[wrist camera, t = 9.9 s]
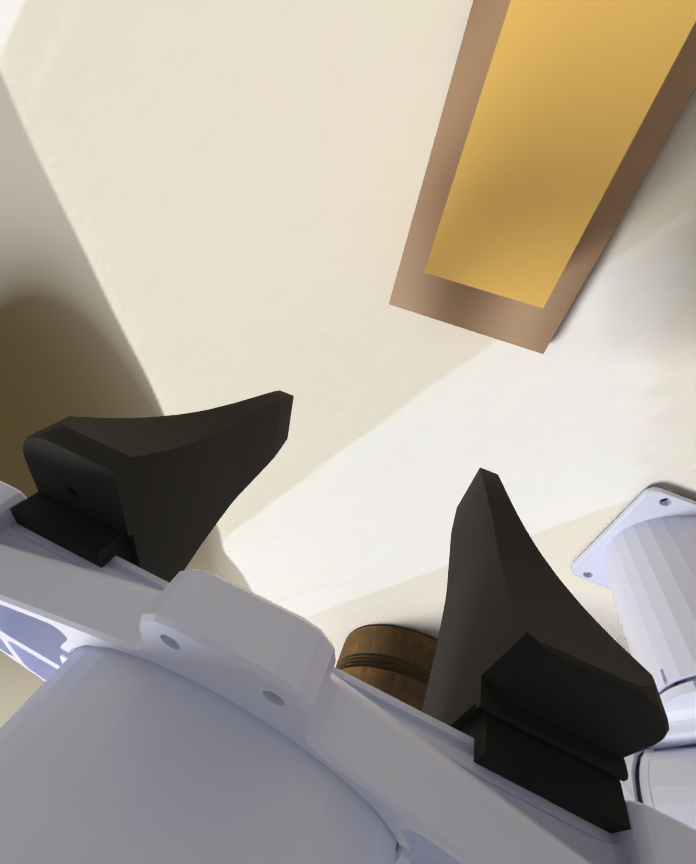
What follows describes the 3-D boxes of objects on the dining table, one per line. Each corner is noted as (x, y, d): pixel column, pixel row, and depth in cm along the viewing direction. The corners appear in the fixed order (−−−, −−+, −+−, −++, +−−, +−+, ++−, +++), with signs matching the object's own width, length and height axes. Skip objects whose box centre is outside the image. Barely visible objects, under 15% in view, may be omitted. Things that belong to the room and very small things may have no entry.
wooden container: (330, 611, 37) (179, 975, 19) (481, 640, 31) (465, 1202, 13) (359, 689, 44) (266, 1014, 26) (488, 725, 38) (484, 1178, 20)
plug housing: (683, -12, 11) (763, -108, 8) (533, 289, 16) (543, 308, 13) (535, -34, 12) (552, -131, 8) (437, 261, 17) (424, 272, 13)
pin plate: (800, -112, 10) (920, -242, 7) (540, 347, 18) (549, 372, 15) (518, -141, 11) (526, -260, 8) (393, 300, 19) (376, 314, 16)
